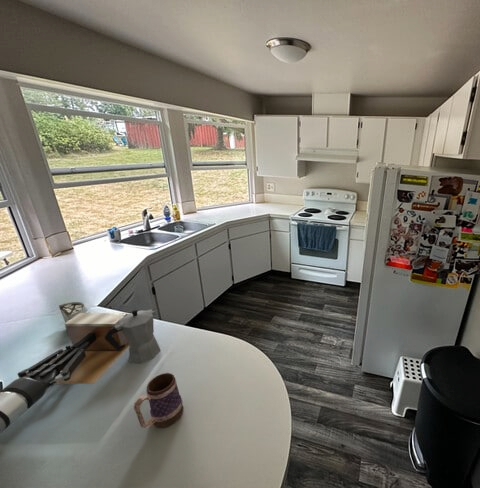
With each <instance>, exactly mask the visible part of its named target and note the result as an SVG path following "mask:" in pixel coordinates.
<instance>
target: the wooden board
mask: <svg viewBox="0 0 480 488" xmlns="http://www.w3.org/2000/svg"><path fill="white" fill-rule="evenodd" d="M128 349H129V344H128V345H127V346H126V347H125V348H124V349H123V350H85V354H86V357H85V358H84V359H83V360H82V362H81V363H80V364H79V365H78V367H77V368H76V369H75V370H74V372H73V373H72V374H71V378H70V379H69V380H67V381H64V379H62V380H59V381H56V383H55V384H54V385H83V384H84V385H85V384H95V382H96V381H98V379H99V378H101V376H103V374H104V373H105V372H106V371H107V370H108V369H109V368H110V367H111V366H112V365H113V364H115V362H116V361H117V360H118V359H119V358H120V357H121V356H122V354H123V353H125V352H126V350H128Z"/></svg>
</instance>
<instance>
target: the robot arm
mask: <svg viewBox="0 0 480 488" xmlns="http://www.w3.org/2000/svg"><path fill="white" fill-rule="evenodd" d="M95 340H97V339H96V336H95V333H89V334H88V335H86V336H85V337H84V338H83V339H81V340H80V341H79V342H77V343H75V344H74V345H65V349H62V348H61V349H58V350H56V351H54V352H53V353H50V355H48V356H46V357H44V358H43V359H41V360H40V361H38V362H37V363H35V364H33V365H31V366H29V367H27V368H25V369H23V370H21V371H19V372H18V373H17V377H18V378H16V379H15V380H13V381H11V382H10V383H9V384H8V385H7V386H5V387H4V388H2V389H1V390H0V434H2V433H3V432H4V431H5V430H6V429H7V428H9V426H10V425H12V424H13V423H14V422H15V421H16V420H17V419H18V418H20V417H21V416H22V415H23V414H24V413H26V412H27V411H28V410H29V409H30V408H31V407H33V406H34V405H35V404H36V403H37V402H38V401H39V400H40V399H41V398H43V397H44V395H45V393H46V392H47V390H48V389H49V388H51V387H52V386H54V385H56V384H55V383H56V381H59V380H62V379H64V381H67V380H69V379H70V378H71V374H72V373H73V372H74V370H75V369H76V368H77V367H78V365H79V364H80V363H81V362H82V360H83V359H84V358H85V357H86V354H85V350H86V349H87V348H88V347H89V346H90V345H91V344H92V343H93V342H94V341H95Z"/></svg>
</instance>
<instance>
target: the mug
mask: <svg viewBox="0 0 480 488" xmlns="http://www.w3.org/2000/svg"><path fill="white" fill-rule="evenodd" d="M146 394H147V395H141V396H139V397H138V398H136V400H135V401H134V405H133V410H134V412H135V414H136V417H137V420H138V423H139V426H140V427H141V428H142V429H147V428H149V427H151V426H152V425H153V426H155V427H156V428H159V429H160V428H167V427H170V426H172V425H173V424H174V423H176V422H177V421H179V419H180V418H181V417H182V415H183V412H184V406H183V399H182V396H181V394H180V391H179V388H178V384H177V379H176V377H175V375H174V374H173V373H170V372H164V373H161V374H158V375H156V376H155V377H153V378H152V379H150V380H149V382H148V383H147V385H146ZM145 401H148V403H149V408H150V409H149V412H150V417H151V418H150V419H148V420H147V421H145V419H144V416H143V413H142V411H141V406H142V404H143V402H145Z"/></svg>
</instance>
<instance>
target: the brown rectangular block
mask: <svg viewBox="0 0 480 488" xmlns="http://www.w3.org/2000/svg"><path fill="white" fill-rule="evenodd" d="M128 314H129V313H128V312H86V313H79V314H78V315H76V316H75V317H73V318H72V319H71V320H69V321H68V322H66V323H65V322H64V327H65V329H66V332H67V334H68V337H69V340H70V342H71V344H72V345H71V346H73V345H74V344H75V343H77V342H79V341H80V340H81V339H83V338H84V337H85V336H86V335H88V334H89V333H95V336H96V339H97V340H95V341H94V342H93V343H92V344H91V345H90V346H89V347H88V348H87V349H86V350H116V349H115V348H114V347H113V346H112V345H111V344H110V343H109V342H108V341H106V340H105V335H106V333H107V332H108V330H109V329H111V328H113V327H114V326H116V325H118V324H119V320H121V319H122V318H124V317H125V316H126V315H128ZM112 337H114V339H115V341H117V342H118V343H119V346H121V345H124V344H125V347H126V346H127V345H128V344H129V342H128V341H127V339H126V337H125V335H124V334H123V332H122V330H121V331H119V332H116V333H114V334H113V335H112ZM125 347H124V348H125ZM124 348H122V349H120V350H123V349H124Z"/></svg>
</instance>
